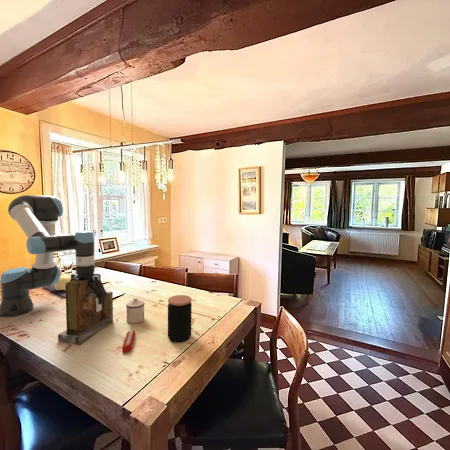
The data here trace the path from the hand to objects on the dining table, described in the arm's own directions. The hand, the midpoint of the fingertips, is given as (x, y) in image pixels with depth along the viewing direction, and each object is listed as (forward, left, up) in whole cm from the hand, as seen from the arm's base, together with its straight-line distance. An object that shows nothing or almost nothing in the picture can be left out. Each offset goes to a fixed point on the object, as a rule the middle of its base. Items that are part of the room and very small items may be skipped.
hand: (86, 309), depth 119 cm
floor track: (0, 0, -11) cm, 11 cm away
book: (0, 0, -10) cm, 10 cm away
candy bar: (+25, -4, -11) cm, 27 cm away
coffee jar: (+44, +6, -11) cm, 46 cm away
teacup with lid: (+14, +18, -11) cm, 25 cm away
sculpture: (-58, +46, -11) cm, 75 cm away
